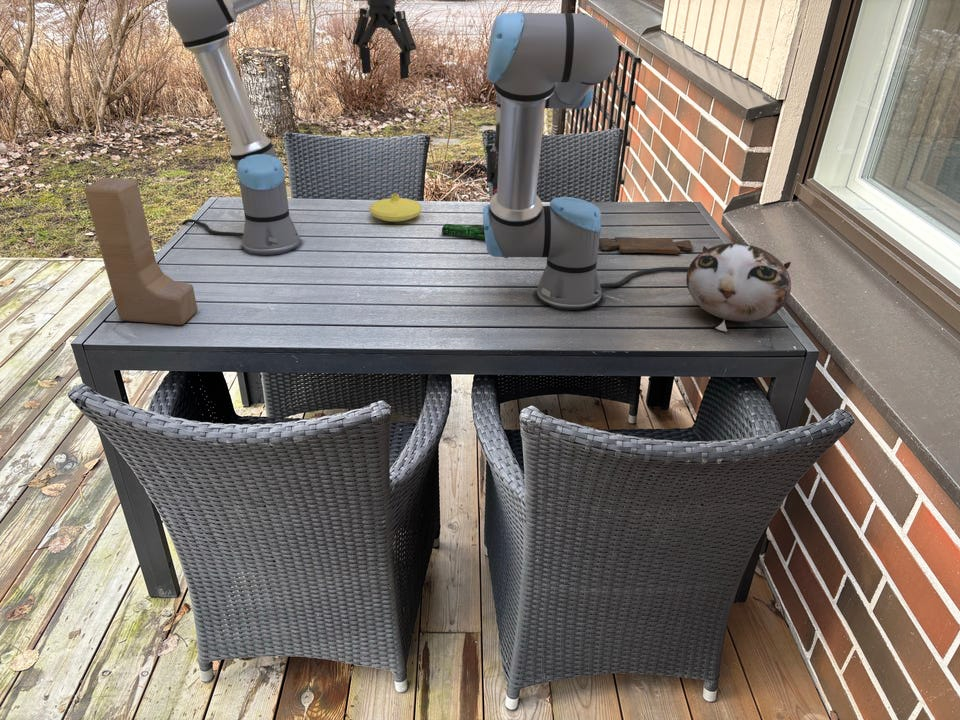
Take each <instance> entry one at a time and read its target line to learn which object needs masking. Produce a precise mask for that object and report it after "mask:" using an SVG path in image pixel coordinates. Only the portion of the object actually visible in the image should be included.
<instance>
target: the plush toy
mask: <svg viewBox="0 0 960 720" xmlns="http://www.w3.org/2000/svg"><path fill="white" fill-rule="evenodd" d="M791 263H792V261H788V262H785V263H782V261H781V260H779V258H778V257H776V256H775V255H773V254H772V253H770V252H768V250H765V249H763V248H760V247H758V246H754V245H751V244H746V243H739V242H738V243H735V242H734V243H733V242H732V243H731V242H730V243H729V242H728V243H722V244H718V245H714V246H711V247H709V248H707V247H706V246H705V245H703V246H702V251H701V253H699V254H698V255H697V256H696V257H695V258H694V259H693V260H692V261H691V263H690V264H689V266H688V267H689V268H688V271H687V272H686V279H685V280H686V281H685V283H686V287H687V290H688V292H689V295H690V296H691V298H692V300H693V301H694V302H695V304H697V305H698V306H699V307H700V308H701V309H702V310H704V311H705V312H706V313H708V314H710V315H712V316H714V317H717V318H719V319H722V322H721V323H720V324H719V325H718V326H716V327H715V329H716V330H718V331H722V332H728V329H727V326H726V320H727V321H730V322H737V323H738V322H740V323H747V322H756V321H761V320H765V319H767V318H770V317H771V316H772V315H774V314H776V313H777V312H779V311H780V310H782V308H783V307H784V306H785V305H786V303H787V302H788V300H789V298H790V295H791V292H792V281H791V280H792V279H791V276H790V273H789V271H788V269H789V268H790V266H791Z"/></svg>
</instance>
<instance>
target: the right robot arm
mask: <svg viewBox="0 0 960 720" xmlns="http://www.w3.org/2000/svg"><path fill="white" fill-rule="evenodd" d="M489 38H490V39H489V44H488V57H487V63H486V79H487V81H488V82H491V83H492V84H493V90H494V92H495V93H496V108H495V122H496V124H495V141H494V143H489V144H486V145H485V151H486V153H487V155H486V158H487V159H486V182H487V183H489V184H492V196H491V197H490V200H489V204H486V205H484V206H483V207H482V219H483V220H482V221H483V225H484V233H485V241H484V242H485V248H486V252H487V253H488V255H490V256H492V257H493V258H494V257H495V258H504V259H508V258H546V266H545V268H544V270H543V273H542V275H541V276H540V277H541V278H540V280H539V282H538V285H537V290H536V297H537V299H538V300H539V301H540V302H541V303H542V304H543V305H545V306H548V307H550V308H553V309H558V310H562V311H583V310H588V309H591V308H595V307H596V306H597V305H599V304H600V302H601V301H602V300H601V299H602V289H603V288H616V287H620V286H622V285H624V284H625V283H627V282H628V281H629V280H630V279H632V278H635V277H636V276H641V275H645V274H649V273H657V272H666V271H667V272H669V271H670V272H671V271H683V272H685V271H688V268H689V266H661V267H653V268H646V269H641V270H638V271H635V272H632V273H630V274H628V275H627V276H625V277H624V278H623V279H622V280H620V281H617V282H611V283H609V282H606V283H600V279H599V274H598V270H597V267H598V266H597V264H598V255H599V248H600V244H599V239H601V238H600V236H601V232H602V212H601V210H600V208H599V207H597V206H596V205H595V204H594V203H591V202H590V201H587V200H584V199H581V198H578V197H570V196H559V197H554V198H552V199H551V200H550V203H549V205H543V202H542V200H541V198H540V196H539V195H537V193H538V182H539V171H540V161H541V151H542V139H543V130H544V129H543V128H544V118H545V117H544V116H545V109H563V110H565V109H566V110H567V109H568V110H579V109H580V110H581V109H589V108H590V107H591V106H592V102H593V98H594V86H595V85H599V84H601V83H603V82H604V81H606V80H607V79H608V78H609V77H610V76H611V75H612V74H613V72H614V71H615V69H616V68H617V67H616V66H617V65H618V60H619V55H620V52H619V46H618V45H619V44H618V42H617V39H616V37H615V36H614V34H613V32H612V31H611V30H610V29H609V28H608V27H607V26H606V24H604V23H602V21H600V20H598V19H597V18H595V17H593V16H590V15H587V14H583V13H578V12H577V13H576V12H575V13H574V12H571V13H564V12H563V13H562V12H561V13H559V12H558V13H557V12H556V13H555V12H523V11H518V12H505V13H504V12H503V13H501V14H499V15H498V16H497V17H495V19H494V21H493V24H492V28H491V32H490V37H489ZM497 154H498V156H497ZM495 189H497V193H496V194H495V195H494V190H495Z"/></svg>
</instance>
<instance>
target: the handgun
mask: <svg viewBox="0 0 960 720" xmlns="http://www.w3.org/2000/svg"><path fill="white" fill-rule="evenodd" d="M441 235H446V236H454V237H462V238H469V239H470V238H471V239H474V240H479V241H484V242H485V233H484V224H482V225H479V224H472V225H459V224H453V223H445V224H443V226H442V227H441Z"/></svg>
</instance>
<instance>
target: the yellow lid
mask: <svg viewBox="0 0 960 720" xmlns="http://www.w3.org/2000/svg"><path fill="white" fill-rule="evenodd" d="M399 196H400V195H399V194H398V193H392V194H391V195H390V197H389V198H383V199H379V200H376V201H374V202H373V203H372V204H371V205H370V206H369V212H370V214H371V216H373V217H374V218H375V219H376V218H377V219H379V220H381V221H384V222H392V223H394V222H395V223H396V222H397V223H399V222H405V221H409V220H411V219H413V218H416V217H417V216H419V215H420V214H421V212H422V205H421V204H420V203H419V202H418V201H416V200H414V199H411V198H405V197H399Z"/></svg>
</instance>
